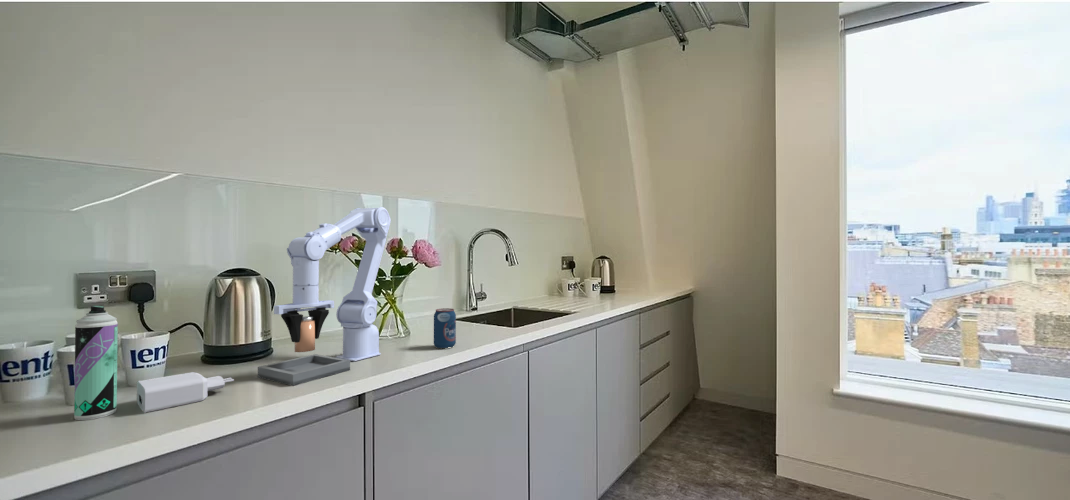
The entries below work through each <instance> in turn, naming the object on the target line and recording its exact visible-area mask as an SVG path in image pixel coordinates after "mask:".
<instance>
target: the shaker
mask: <svg viewBox="0 0 1070 500" xmlns="http://www.w3.org/2000/svg"><path fill="white" fill-rule="evenodd" d="M315 350H316V339H315V320H313V316H309V315H308V316H306V315H305V316H304V315H303V318H302V321H301V327H300V341H299V342H297V343H296V342H294V353H307V352H312V351H315Z"/></svg>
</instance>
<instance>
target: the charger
mask: <svg viewBox="0 0 1070 500" xmlns="http://www.w3.org/2000/svg"><path fill="white" fill-rule="evenodd" d="M234 381H235V379H234V378H232V377H228V378H223V377H222V376H220V375H217V376H211V377H204V375H202V374H201V373H198V372H196V371H195V372H194V371H191V372H185V373H180V374H179V373H178V374H172V375H167V376H162V377H155V378H149V379H144V380H138V381H137V382H136V403H137V405H138V407H139V408H140V409H141V411H142V412H143V413H144V414H146V413H151V412H156V411H159V410H160V411H161V410H165V409H170V408H174V407H179V406H185V405H189V404H194V403H198V402H203V401H204V400H206V399H207V398H208V392H211V391H216V390H220V389H223V388H224V387H225V386H226V383H231V382H234Z"/></svg>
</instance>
